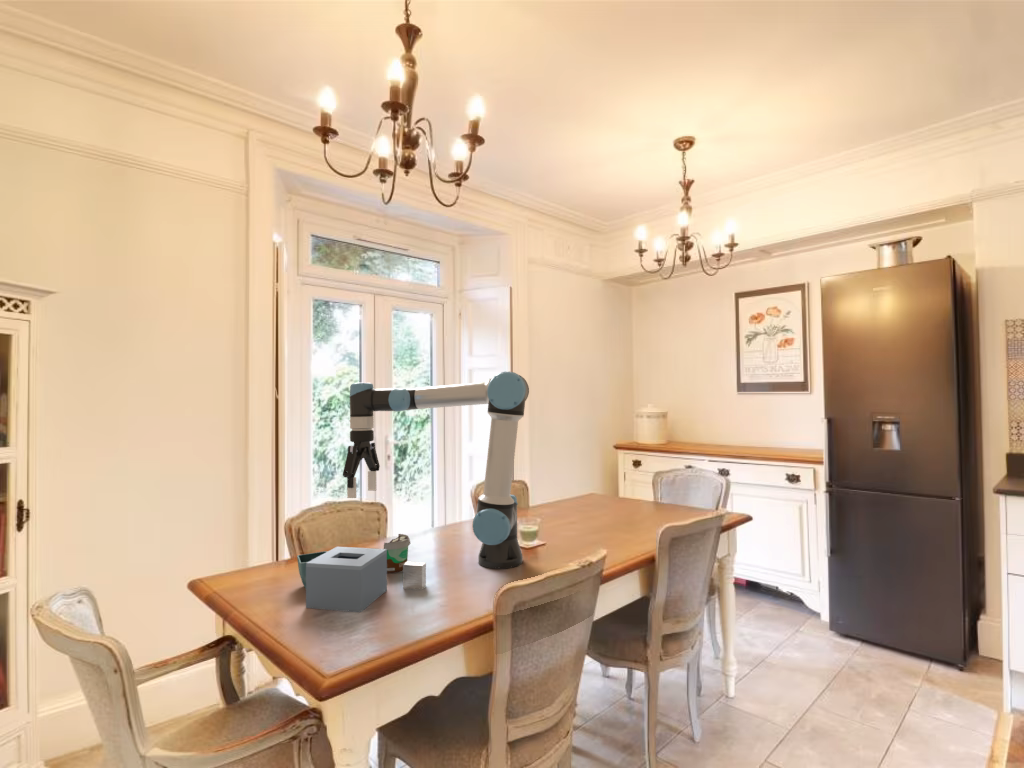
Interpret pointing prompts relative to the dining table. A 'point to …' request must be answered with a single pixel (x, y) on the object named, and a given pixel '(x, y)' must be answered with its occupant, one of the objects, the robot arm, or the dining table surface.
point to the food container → (397, 553)
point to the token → (414, 575)
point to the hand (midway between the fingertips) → (362, 494)
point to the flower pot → (302, 564)
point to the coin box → (346, 578)
